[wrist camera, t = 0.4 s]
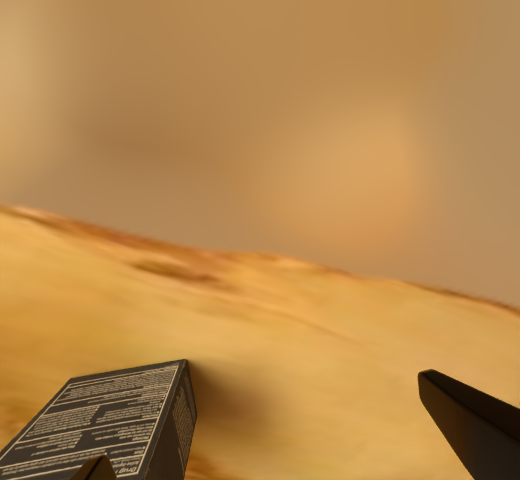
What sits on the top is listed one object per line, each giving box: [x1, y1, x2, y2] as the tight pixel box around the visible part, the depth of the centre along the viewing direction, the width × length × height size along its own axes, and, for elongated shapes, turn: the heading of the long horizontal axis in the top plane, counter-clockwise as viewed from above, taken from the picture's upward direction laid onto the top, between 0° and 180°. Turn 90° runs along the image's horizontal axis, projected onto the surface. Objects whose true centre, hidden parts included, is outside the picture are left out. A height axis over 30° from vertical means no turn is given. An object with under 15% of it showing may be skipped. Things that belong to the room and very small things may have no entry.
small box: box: [0, 359, 197, 480], centre depth 17 cm, size 11×6×10 cm, turn 98°
